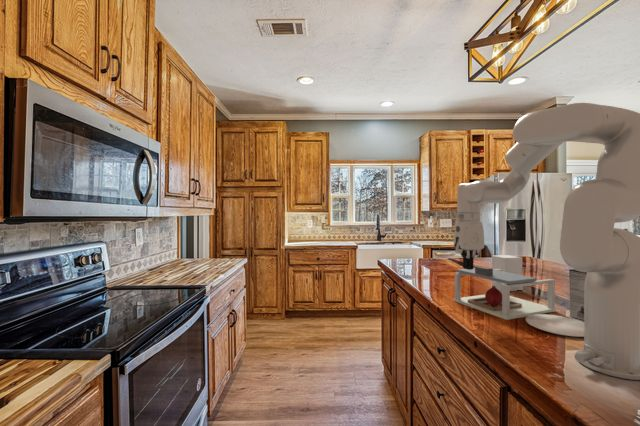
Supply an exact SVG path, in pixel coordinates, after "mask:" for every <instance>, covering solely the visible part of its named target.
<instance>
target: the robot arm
mask: <svg viewBox="0 0 640 426" xmlns="http://www.w3.org/2000/svg"><path fill="white" fill-rule="evenodd" d="M512 137H513V139H514V141H515V142H516V143H514V145H513V146H512V147H511V148H509V150H508V151H507V152H506V154H505V156H504V158H505V161H506V163H507V164H508V166H509V167H510V168H511V170H510V171H509V172H508V173H507V175H505V176H504V177H503V178H502V179H501V180H499V181H498V180H476V181H473V182H467V183H466V182H465V183H464V182H463V183H460V184H458V185H457V188H456V189H457V191H456V194H457V196H456V197H457V198H456V199H457V202H456V203H457V204H456V210H457V211H456V212H457V213H456V215H455V218H456V222H455V226H454V232H453V233H454V235H453V246H454V248H455V253H457V254H459V255H460V256H461V258H462V269H468V270H472V269H473V268H474V259H475V258H476V254H478V253H480V252H481V251H482V250H483V249H484V248H485V231H484V226H483V222H482V221H481V208H482V207H481V204H484V205H485V204H505V203H506V202H509V201H510V200H512V199H513V198H514V197H516V196H517V195H518V194H519V193H520V192H521V191H523V190H524V189H525V187H526V186H527V184H528V182H529V180H530V176H531V172H532V170H534V169H535V168H536V167H537V166H538V165H540V163H542V162H543V161H544V160H545V159H546V158H547V157H549V156H550V154H552V153H553V152H555V150H557V149H558V148H559V147H560V146H561V145H562V144H563V143H564V142H573V143H574V142H576V143H577V142H578V143H586V144H599V145H603V146H604V148H603V150H602V151H601V154H600V156H599V158H598V161H597V166H596V174H595V179H589V180H585V181H582V182H580V183H578V184H576V185H575V186H574V187H573V188H572V189H571V190H570V191H569V192H568V195H567V196H566V198H565V201H564V205H563V212H562V213H563V214H562V220H561V221H562V222H561V231H560V240H559V251H560V255H561V258H562V260H563V261H564V262H565V264H567V266H568V267H570V268H571V269H575V270H577V271H580V272H587V275H586V279H585V286H584V320H583V322H584V337H583V340H584V341H583V342H584V343H583V349H579V350H576V352H575V354H574V356H573V357H574V359H575V361H577V362H578V363H580V364H582V365H583V366H585V367H586V368H589V369H591V370H593V371H596V372H598V373H601V374H604V375H607V376H611V377H615V378H620V379H626V380H633V381H640V237H639V236H638V235H637V234H635V233H634V232H632V231H629V230H627V229H623V228H618V227H617V228H616V227H615V224H616V223H618V224H619V223H626V222H630V221H634V220H635V219H638V218H639V217H640V112H637V111H634V110H631V109H626V108H623V107H618V106H614V105H613V106H612V105H606V104H605V105H603V104H597V103H592V102H575V103H569V104H564V105H558V106H555V107H550V108H549V107H548V108H545V109H540V110H539V109H538V110H534V111H532V112H528V113H526V114H525V115H523V116H521V117H520V118H519V119H518V120H517V121H516V123H515V124H514V126H513V129H512Z"/></svg>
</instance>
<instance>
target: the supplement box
mask: <svg viewBox="0 0 640 426" xmlns="http://www.w3.org/2000/svg"><path fill="white" fill-rule="evenodd" d="M491 268H492V269H502V271H503V272H508V273H513V274H518V275H523V276H524V274H523V257H521V256H515V255H509V254H499V255H498V254H497V255H496V254H494V255H491ZM503 284H506V283H502V285H503ZM493 285H494V286H496V281H493V280H491V287H492V286H493ZM523 287H524V286H523ZM523 287H515V288H510V292H518V291H517V290H522V291H523V290H524V288H523Z"/></svg>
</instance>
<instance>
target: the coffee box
mask: <svg viewBox="0 0 640 426" xmlns="http://www.w3.org/2000/svg"><path fill="white" fill-rule="evenodd" d="M568 271H569V275H568V276H569V316H570V317H571V318H573V319H574V318H575V319H577V318H578V319H577V320H580V319H581V320H582V321H584V286H585V279H586V275H587V272H580V271H577V270H575V269H573V268H571V269H569V270H568ZM581 320H580V321H581Z"/></svg>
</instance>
